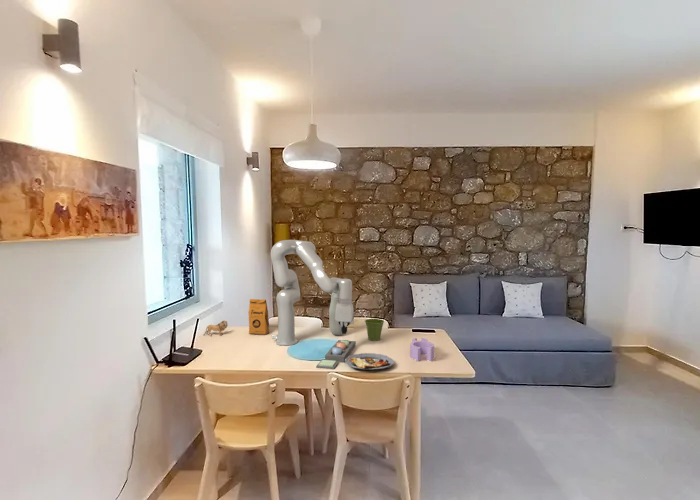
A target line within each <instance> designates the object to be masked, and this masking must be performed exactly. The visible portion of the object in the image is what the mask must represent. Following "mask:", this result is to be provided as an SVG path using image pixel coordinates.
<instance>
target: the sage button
mask: <svg viewBox="0 0 700 500" xmlns="http://www.w3.org/2000/svg"><path fill="white" fill-rule="evenodd" d="M340 340H341V342H345V343H346V345H349V341H350V340H349V339H340Z"/></svg>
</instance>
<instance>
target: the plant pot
mask: <svg viewBox="0 0 700 500" xmlns="http://www.w3.org/2000/svg"><path fill="white" fill-rule="evenodd" d="M364 322H365V326H366V331H367V332H366V333H367V339H368V340H369V341H380V340H381V337H382V336H381V335H382V331H383V326H384V323H385V320H383V319H379V318H367V319H365V320H364Z"/></svg>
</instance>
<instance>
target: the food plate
mask: <svg viewBox="0 0 700 500" xmlns="http://www.w3.org/2000/svg"><path fill="white" fill-rule="evenodd" d="M344 363H346V364H347V365H348V366H349V367H351V368H353V369H357V370H363V371H366V370H368V371H371V370H372V371H373V370H383V369H388V368H389V367H393V366H394V365H395V361H394V359H393V358H391V357H389V356H388V355H386V354H379V353H372V352H371V353H370V352H368V353H367V352H363V353H355V354H352V355H349V356H348V357H347V358H345V362H344Z"/></svg>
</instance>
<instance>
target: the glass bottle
mask: <svg viewBox="0 0 700 500" xmlns="http://www.w3.org/2000/svg"><path fill="white" fill-rule="evenodd" d="M330 297H331V298H330V299H331V300H330V304H329V310H328V315H329V316H328V317H329V319H328V320H329V324H328V325H329V331H330V332H331V334H333V335H334V336H342V335H343V334H342V332H341V325H340V324H339V323H336V322H335V310H336V304H337V303H338V301H336V299H337V298H338V290H336V291H333V292H331V296H330ZM344 326H345V322H344Z"/></svg>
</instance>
